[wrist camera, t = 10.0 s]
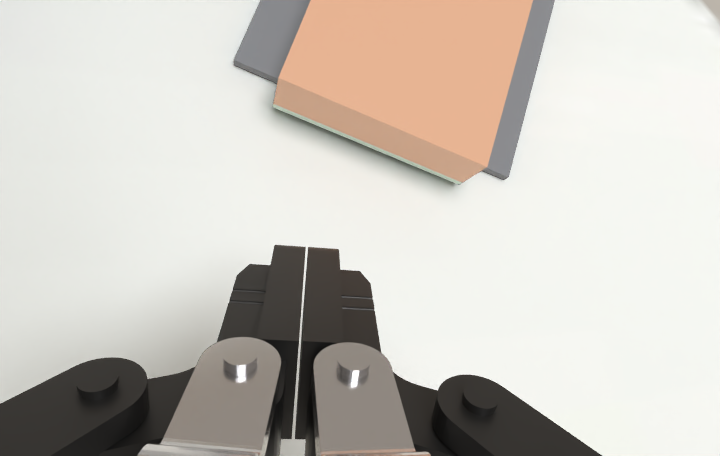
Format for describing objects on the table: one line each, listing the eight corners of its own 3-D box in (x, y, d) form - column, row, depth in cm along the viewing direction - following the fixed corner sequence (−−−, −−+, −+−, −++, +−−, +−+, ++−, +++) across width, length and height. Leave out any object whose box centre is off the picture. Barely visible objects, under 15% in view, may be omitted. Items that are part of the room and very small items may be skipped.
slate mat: (233, 65, 25) (233, 59, 24) (327, -145, 28) (329, -153, 28) (503, 179, 27) (508, 177, 27) (557, -27, 31) (563, -32, 30)
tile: (278, 77, 21) (377, -161, 25) (272, 107, 24) (362, -111, 28) (487, 167, 23) (552, -70, 27) (458, 184, 26) (521, -31, 30)
